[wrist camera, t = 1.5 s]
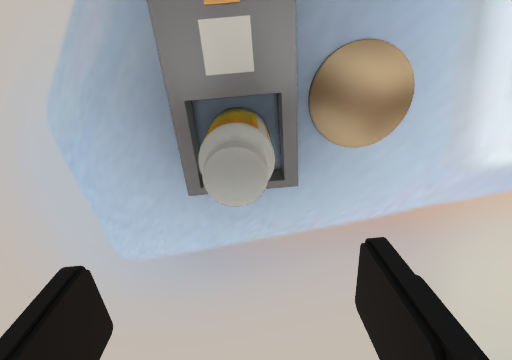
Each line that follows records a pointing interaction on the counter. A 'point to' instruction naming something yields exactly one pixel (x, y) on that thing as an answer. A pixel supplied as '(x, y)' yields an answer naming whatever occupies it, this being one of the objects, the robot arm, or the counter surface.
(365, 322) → the robot arm
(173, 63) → the gray rectangular fixture
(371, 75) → the cork coaster
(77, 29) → the counter surface
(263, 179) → the supplement bottle
